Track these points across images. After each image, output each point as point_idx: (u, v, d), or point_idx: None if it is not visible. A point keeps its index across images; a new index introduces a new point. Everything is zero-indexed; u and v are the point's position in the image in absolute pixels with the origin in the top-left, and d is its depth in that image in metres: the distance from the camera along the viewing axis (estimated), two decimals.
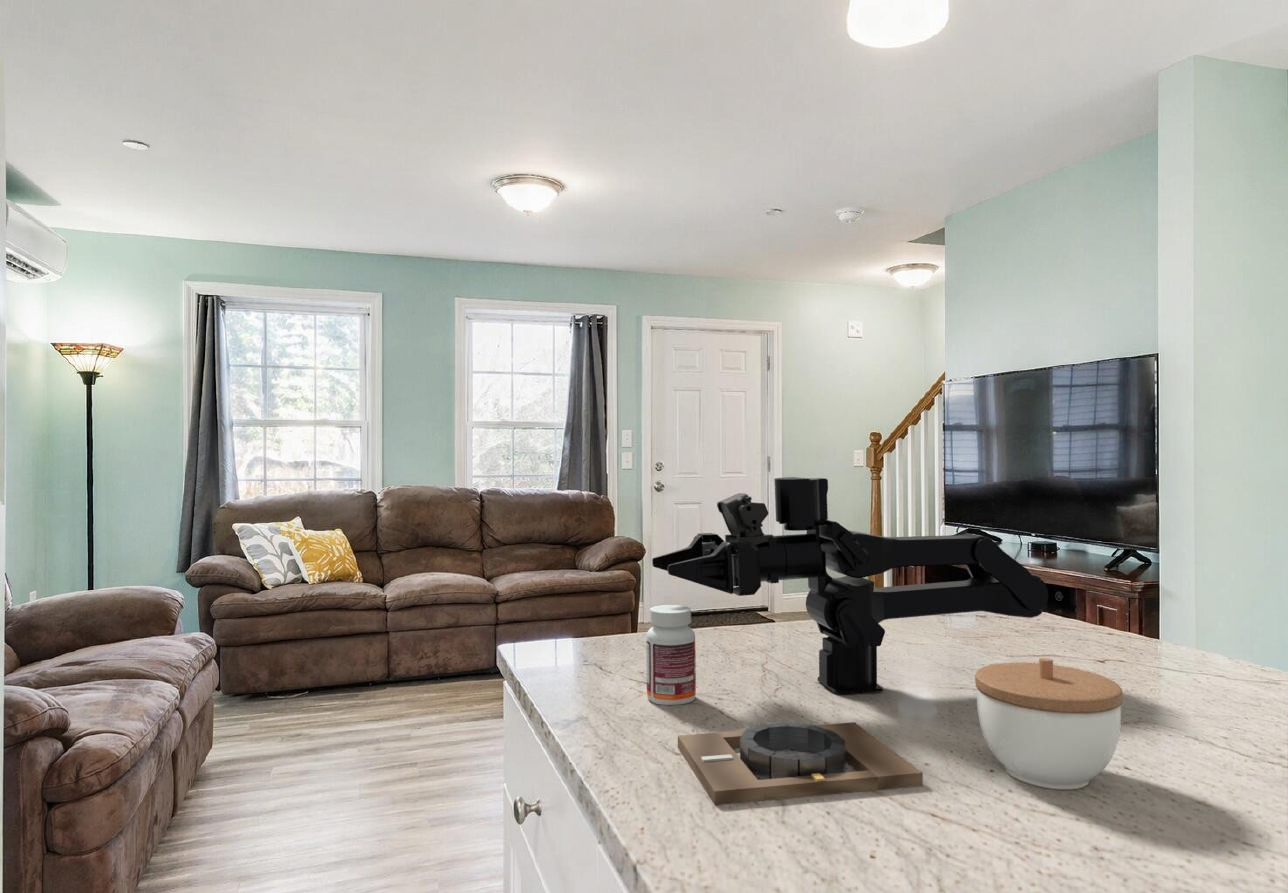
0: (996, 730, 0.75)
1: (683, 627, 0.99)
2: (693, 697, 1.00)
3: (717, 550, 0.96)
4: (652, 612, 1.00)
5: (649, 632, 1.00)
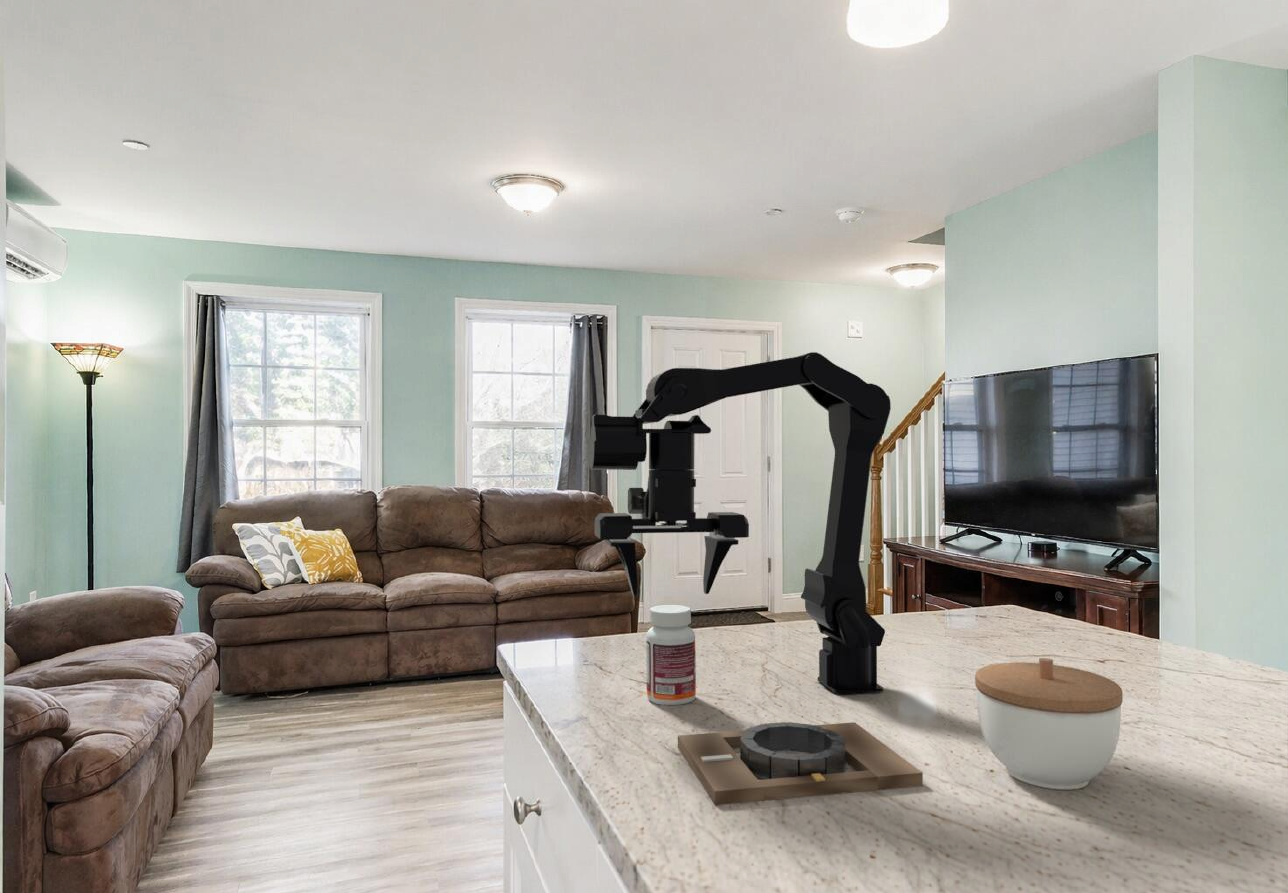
0: (996, 731, 0.75)
1: (683, 627, 0.99)
2: (693, 697, 1.00)
3: None
4: (652, 612, 1.00)
5: (649, 632, 1.00)
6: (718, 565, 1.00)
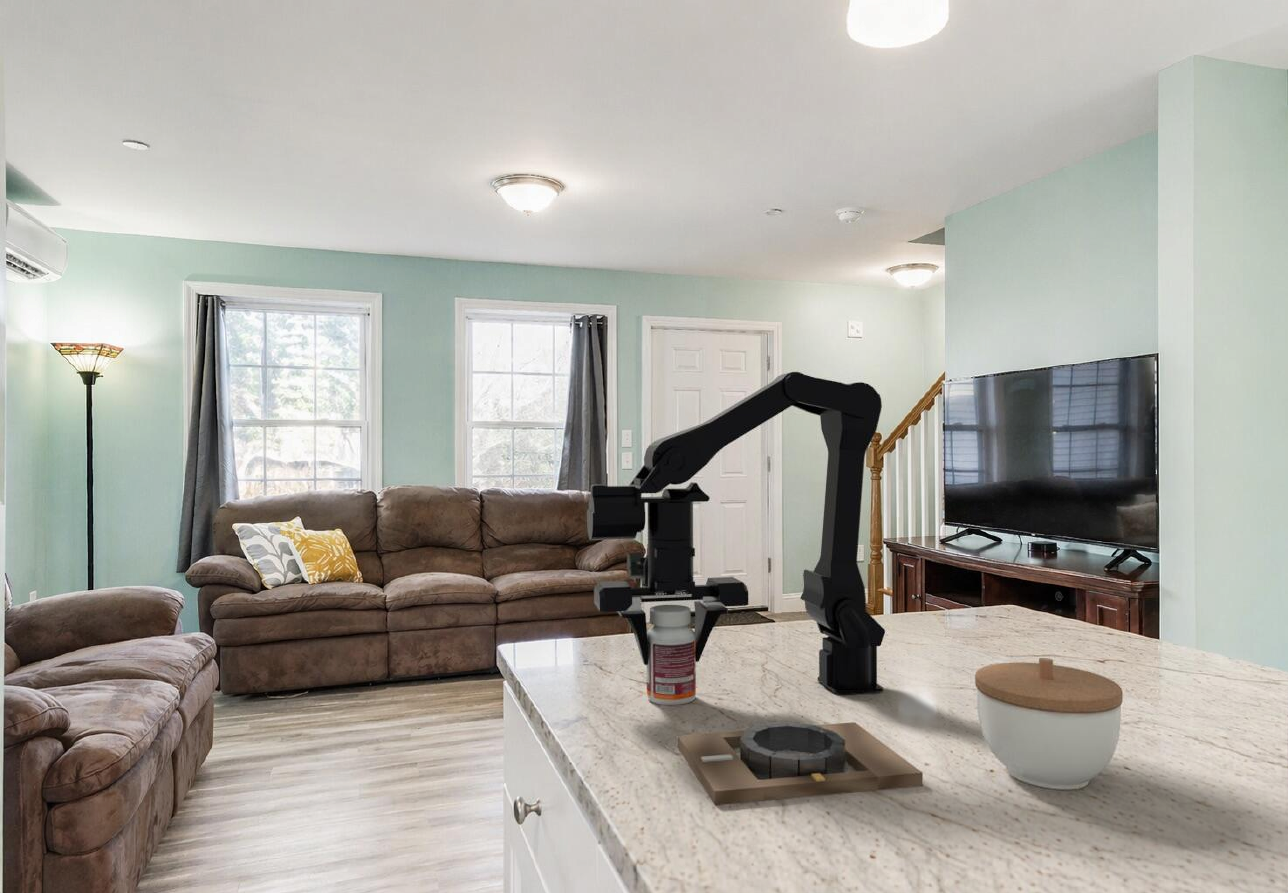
0: (996, 730, 0.75)
1: (683, 627, 0.99)
2: (694, 697, 1.00)
3: None
4: (652, 612, 1.00)
5: (649, 632, 1.00)
6: (708, 634, 1.00)
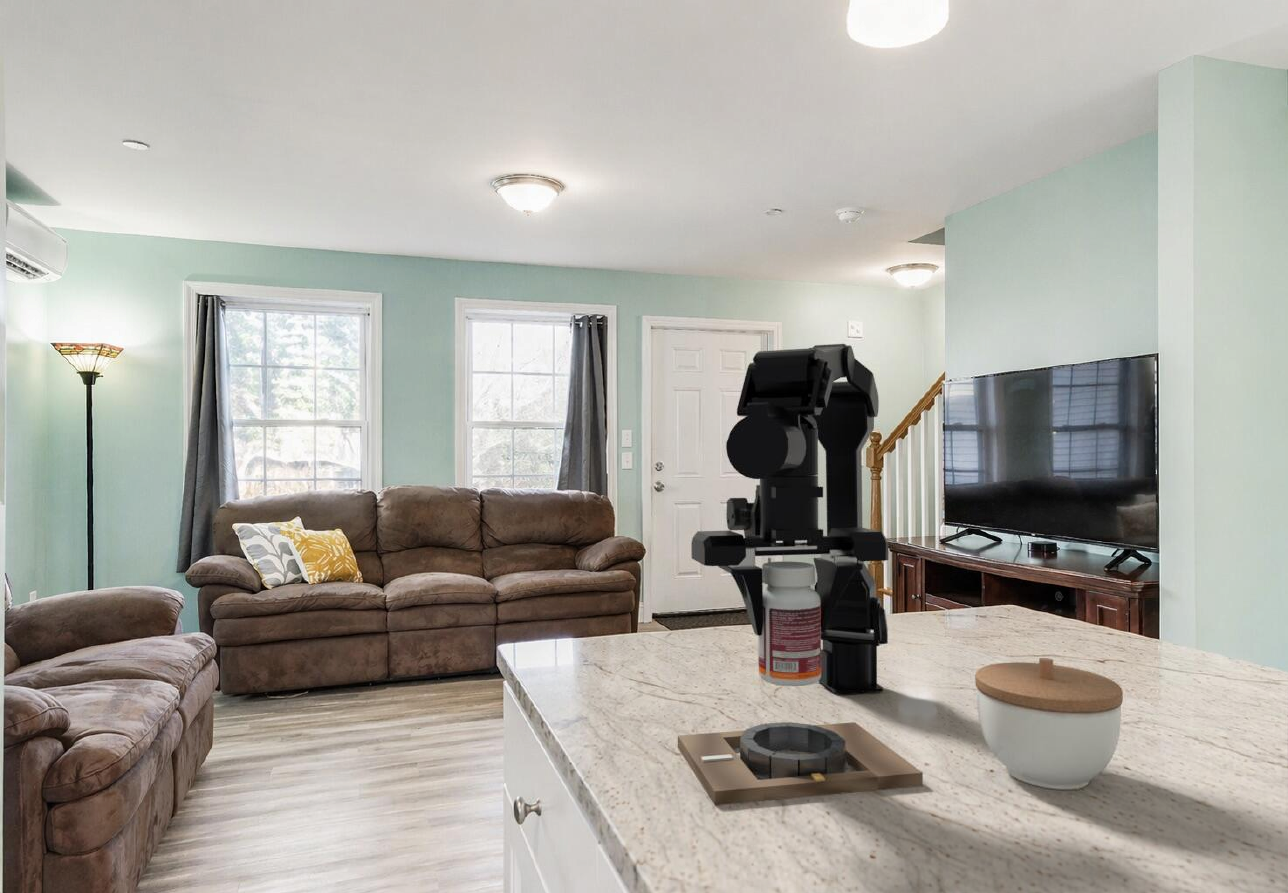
0: (996, 730, 0.75)
1: (807, 588, 0.78)
2: (820, 676, 0.79)
3: None
4: (767, 569, 0.79)
5: (763, 594, 0.79)
6: (837, 596, 0.79)
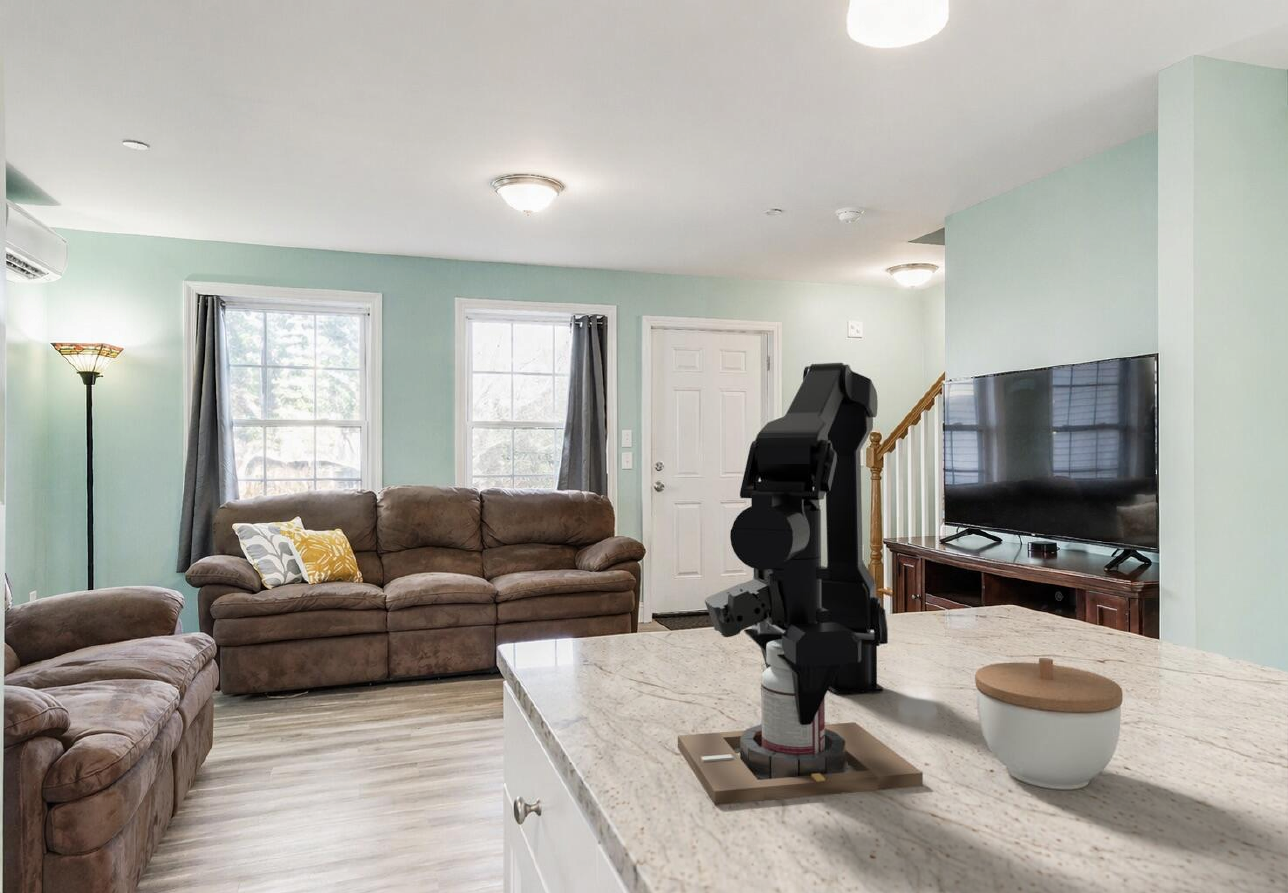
0: (996, 730, 0.75)
1: None
2: None
3: (789, 668, 0.75)
4: None
5: None
6: None
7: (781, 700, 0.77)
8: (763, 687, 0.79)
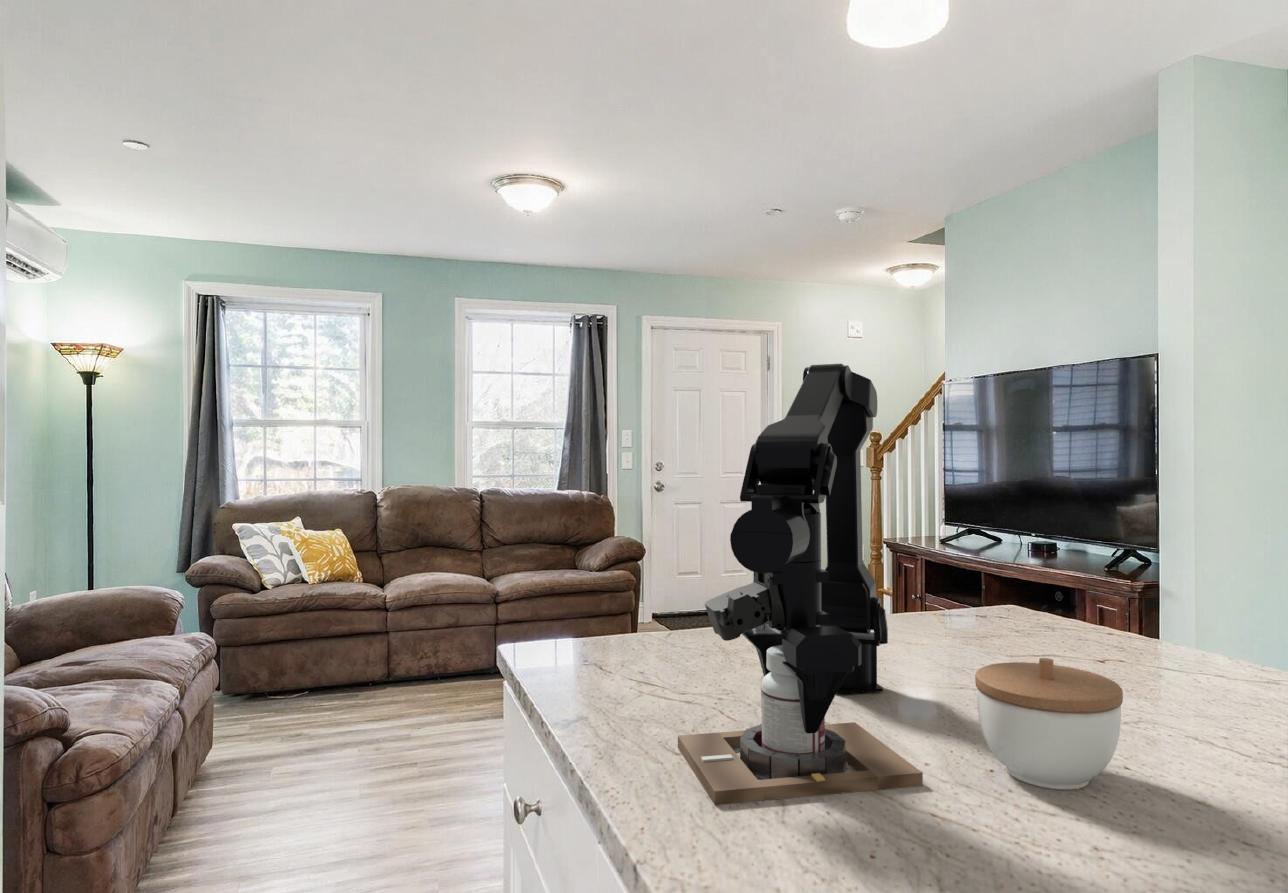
0: (996, 730, 0.75)
1: None
2: None
3: (795, 675, 0.73)
4: None
5: None
6: None
7: (781, 706, 0.77)
8: (763, 693, 0.79)
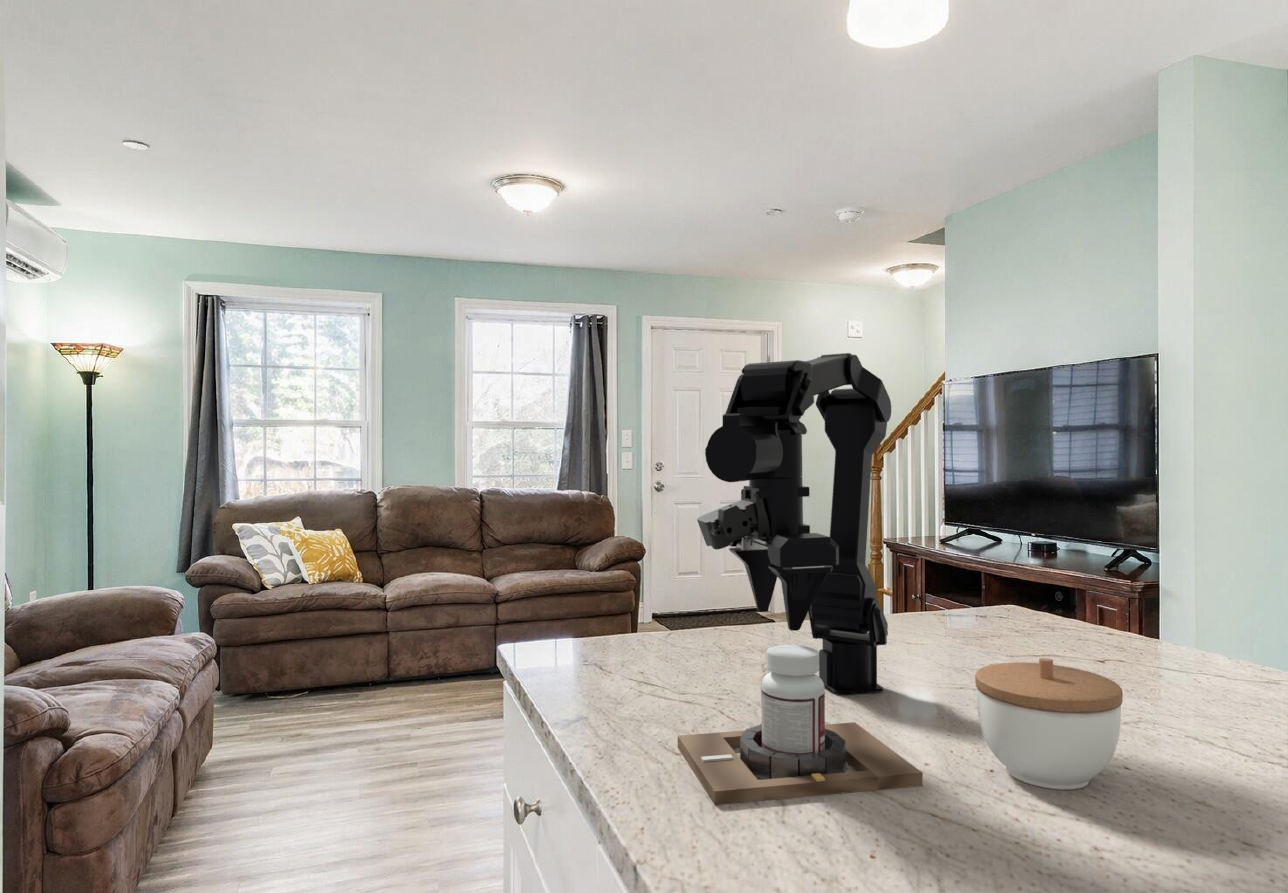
0: (996, 730, 0.75)
1: None
2: None
3: (779, 577, 0.81)
4: (809, 659, 0.77)
5: (806, 686, 0.77)
6: None
7: (781, 706, 0.77)
8: (763, 693, 0.79)
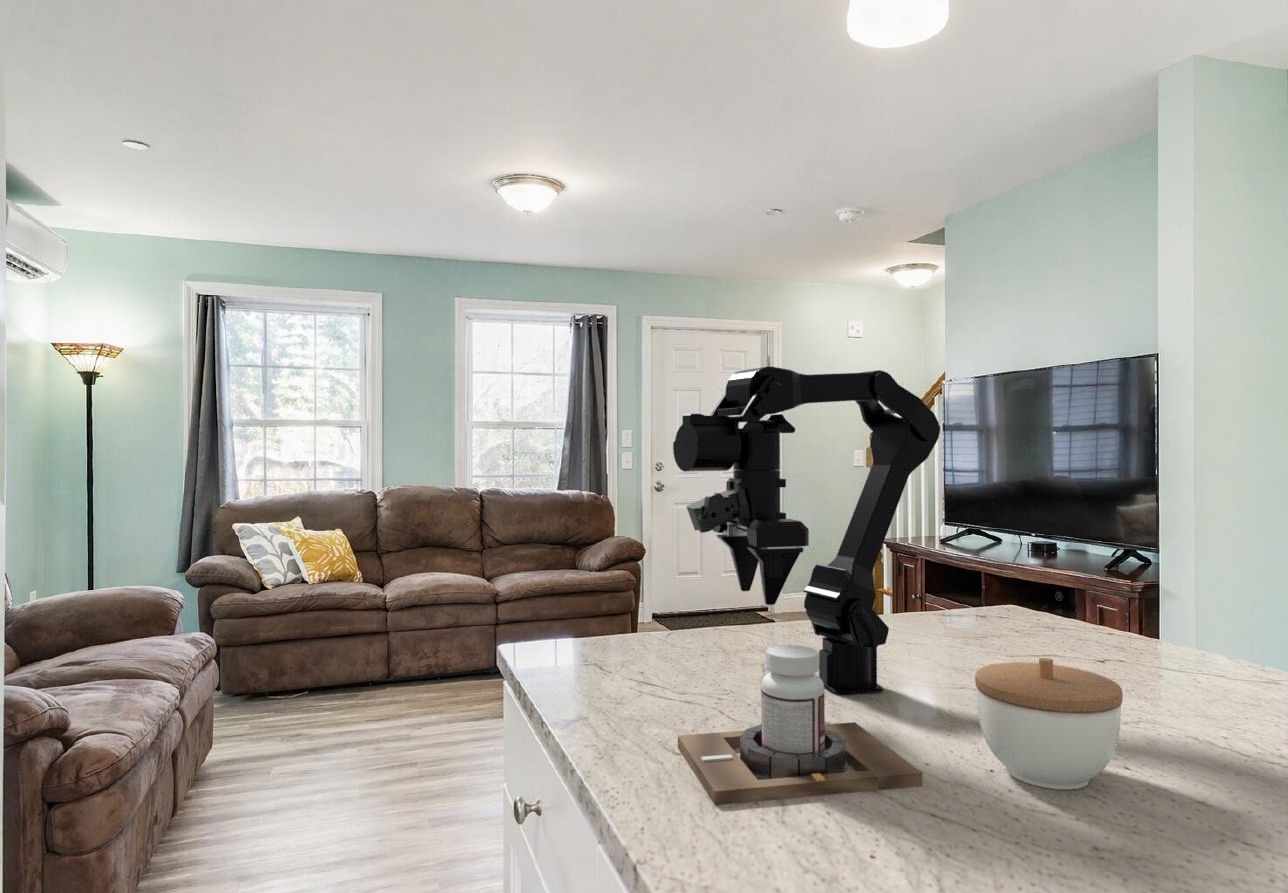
0: (996, 730, 0.75)
1: None
2: None
3: (757, 556, 0.93)
4: (809, 659, 0.77)
5: (806, 686, 0.77)
6: None
7: (781, 706, 0.77)
8: (763, 693, 0.79)
